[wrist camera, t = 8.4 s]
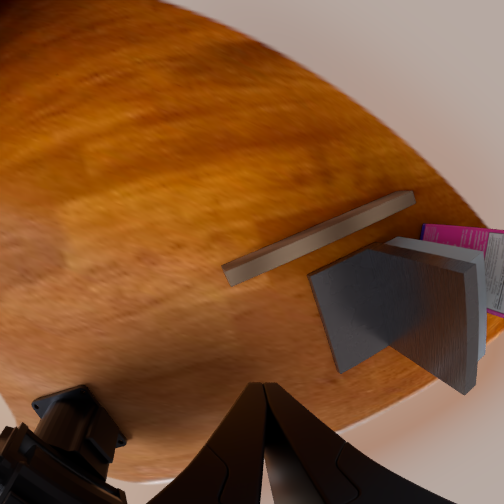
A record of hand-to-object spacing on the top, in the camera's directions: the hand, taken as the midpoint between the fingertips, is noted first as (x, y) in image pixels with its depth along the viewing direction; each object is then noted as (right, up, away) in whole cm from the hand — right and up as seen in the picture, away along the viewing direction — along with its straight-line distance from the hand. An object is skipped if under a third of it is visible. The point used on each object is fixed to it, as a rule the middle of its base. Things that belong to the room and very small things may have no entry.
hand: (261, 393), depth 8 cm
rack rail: (+5, +6, +13) cm, 15 cm away
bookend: (+8, 0, +15) cm, 17 cm away
